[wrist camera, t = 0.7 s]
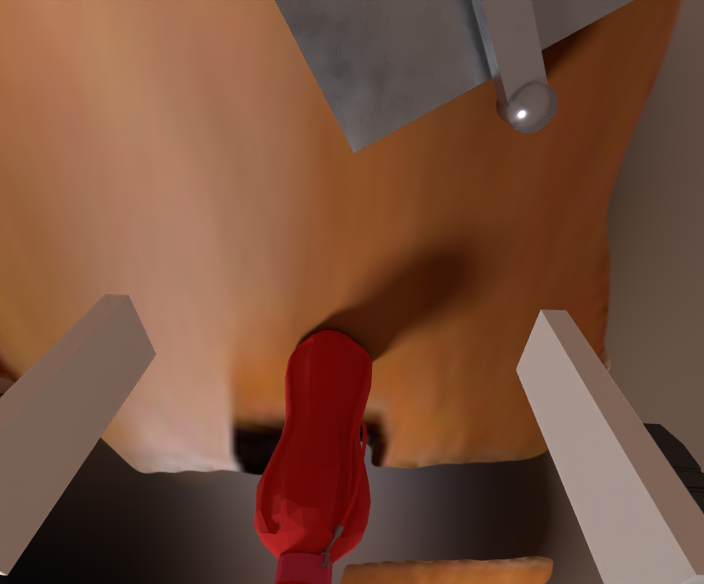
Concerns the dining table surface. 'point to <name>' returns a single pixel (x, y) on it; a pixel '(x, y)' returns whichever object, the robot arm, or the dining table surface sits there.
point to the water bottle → (318, 462)
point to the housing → (407, 53)
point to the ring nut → (516, 63)
